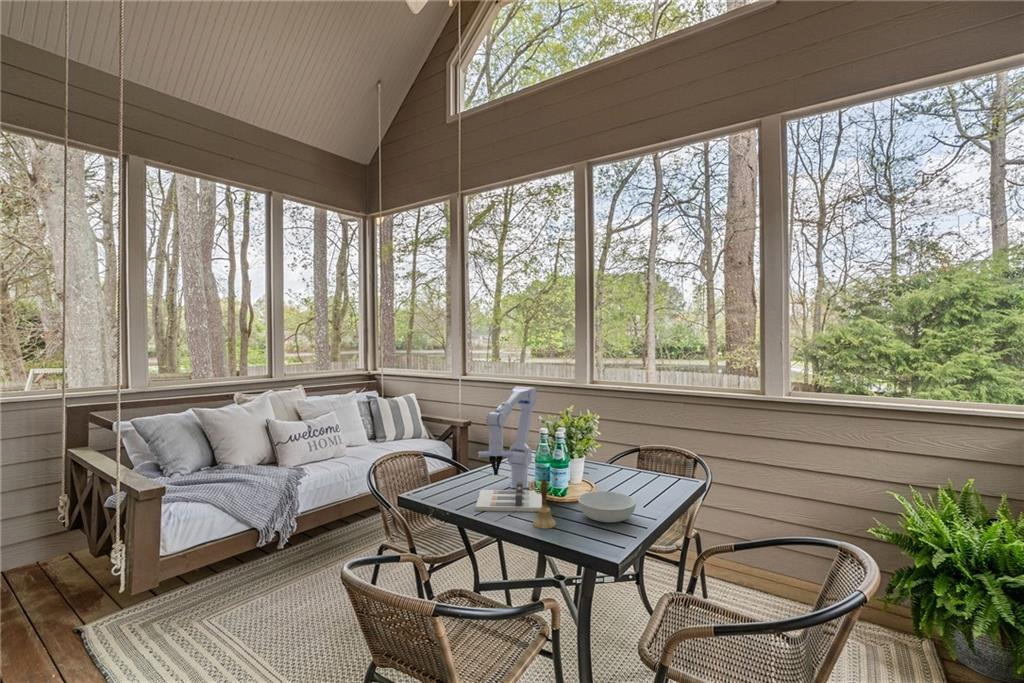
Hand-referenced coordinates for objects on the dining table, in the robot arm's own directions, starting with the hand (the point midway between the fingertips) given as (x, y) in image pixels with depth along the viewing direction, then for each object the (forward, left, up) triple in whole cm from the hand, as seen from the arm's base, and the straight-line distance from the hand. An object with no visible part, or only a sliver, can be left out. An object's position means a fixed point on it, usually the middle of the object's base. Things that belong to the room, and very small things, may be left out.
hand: (496, 474), depth 195 cm
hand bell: (+26, +19, -10) cm, 34 cm away
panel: (+4, +6, -10) cm, 12 cm away
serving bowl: (+19, +42, -10) cm, 47 cm away
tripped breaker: (+4, +10, -8) cm, 13 cm away
